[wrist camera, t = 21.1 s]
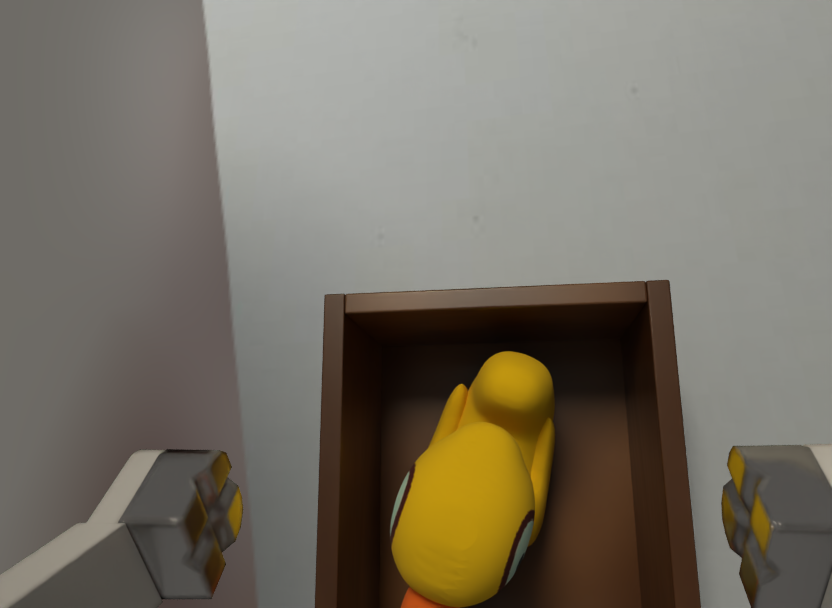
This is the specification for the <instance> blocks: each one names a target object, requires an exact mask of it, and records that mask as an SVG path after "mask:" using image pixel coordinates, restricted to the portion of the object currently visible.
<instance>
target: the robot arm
mask: <svg viewBox="0 0 832 608" xmlns="http://www.w3.org/2000/svg"><path fill="white" fill-rule="evenodd" d="M727 466H728V469H729V471H730V474H731V476H732V479H731V480H730V481H729V482H728V483H727V484H726V485H724V486H723V494H722V502H721V503H722V520H723V525H724V529H725V534H726V537H727V540H728V543H729V546H730V548H731V549H732V550H733V551H734V552H735V553H737V554H738V555H739V556H740V557H741V558H742V562H741V567H740V572H739V575H740V578H741V580H742V583H743V586H744V589H745V591H746V594H747V597H748V600H749V603H750V605H751V608H832V444H808V445H803V446H802V445H764V446H733V447H732V449H731V451H730V452H729V458H728V463H727ZM231 468H232V466H231V464H230V461H229V459H228V456H227V454H226V453H225V452H223V451H220V450H171V449H169V450H168V449H167V450H141V449H140V450H138V451H137V452H135V453H133V454H132V455H131V456H130V458H129V459H128V461H127V462H126V464H125V465H124V467H123V468H122V470H121V471H120V473H119V474H118V476H117V477H116V479H115V480H114V482H113V483H112V485H111V486H110V488H109V489H108V491H107V492H106V494H105V495H104V497H103V498H102V500H101V501H100V503H99V504H98V506H97V507H96V509H95V511H94V512H93V514H92V515H91V516H90V518H89V519H88V521H87V522H86V523H77V524H75V525H74V526H72V527H71V528H70V529H68V530H66V531H65V532H63V533H62V534H61V535H59V536H58V537H56V538H55V539H53V540H51V541H50V542H48V543H47V544H45V545H44V546H42V547H41V548H40V549H38V550H37V551H35V552H34V553H32V554H31V555H29V556H27V557H26V558H24V559H23V560H21V561H20V562H18V563H17V564H15V565H14V566H12V567H11V568H10V569H8V570H6V571H5V572H3V573H2V574H0V608H157V607H158V606H159V605H160V604H161V603H162V599H212V596H213V594H214V591H215V589H216V587H217V584H218V582H219V579H220V577H221V575H222V572H223V570H224V567H225V565H226V563H225V561H224V558H223V555H222V552H223V551H224V550H226V549H227V548H228V547H229V546H230V545H231V544H233V543H234V542H235V540H236V538H237V535H238V533H239V530H240V527H241V521H242V514H243V504H242V496H241V493H240V490H239V487H238V485H236V484H235V483H234V482H233V481H232V480H230V479H229V478H228V477H227V476H228V474H229V471H230V470H231Z"/></svg>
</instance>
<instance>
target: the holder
mask: <svg viewBox="0 0 832 608" xmlns="http://www.w3.org/2000/svg"><path fill="white" fill-rule="evenodd" d="M504 351H512V352H518V353H522V354H525V355H528V356H530V357H532V358H534V359H536V360H538V361H539V362H541V363H542V364H543V365H544V366H545V367H546V368H547V369H548V371H549V373H550V375H551V377H552V381H553V387H554V398H555V411H554V418H553V423H554V427H555V446H554V454H553V462H552V468H551V475H550V482H549V489H548V495H547V502H546V509H545V514H544V519H543V523H542V526H541V529H540V532H539V534H538V536H537V538H536V540H535V541H534V542H533V544H532V545H530V546H528V547H527V549H526V552H525V554H524V557H523V559H522V561H521V563H520V565H519V567H518V569H517V571H516V572H515V574H514V575H513V577H512V578H511V579H510V581H509V582H508V583H507V584H506V585H505V586H504V587H503V588H502V589H501V590H500V591H499V592H498V593H496V594H495V595H494V596H492V597H491V598H489V599H487V600H485V601H483V602H481V603H478V604H475V605H472V606H467V607H460V608H701V602H700V592H699V582H698V571H697V561H696V551H695V540H694V530H693V520H692V509H691V499H690V489H689V479H688V468H687V458H686V448H685V437H684V427H683V417H682V406H681V396H680V386H679V375H678V365H677V355H676V344H675V334H674V324H673V313H672V303H671V293H670V282H669V280H655V281H646V283H645V282H644V281H634V282H611V283H588V284H565V285H541V286H518V287H495V288H472V289H449V290H425V291H402V292H379V293H356V294H346V295H345V294H328V295H325V301H324V332H323V364H322V396H321V428H320V460H319V492H318V524H317V556H316V588H315V608H401V605H402V602H403V599H404V597H405V594H406V592H407V590H408V588H409V587H410V586H409V585H408V584H407V583H406V582H405V580H404V579H403V578H402V576H401V574H400V572H399V570H398V568H397V566H396V563H395V561H394V557H393V554H392V549H391V541H390V525H391V517H392V512H393V508H394V504H395V501H396V498H397V495H398V492H399V490H400V487H401V485H402V483H403V481H404V479H405V477H406V475H407V473H408V472H409V470H410V469H411V467H412V466H413V464H414V463H415V462H416V460H417V459H418V458H419V457H420V456H421V455H422V454H423V453H424V452H425V451H426V450H427V449H428V447H429V445H430V442H431V440H432V438H433V435H434V433H435V430H436V428H437V425H438V423H439V420H440V418H441V415H442V413H443V410H444V408H445V405H446V403H447V401H448V399H449V397H450V395H451V393H452V392H453V390H454V389H455V388H456V387H457V386H458V385H459V384H463V385H465V386H466V388H467V390H469V388H470V386H471V385H472V383H473V381H474V380H475V378H476V377H477V375H478V373H479V371H480V369H481V367H482V366H483V365H484V363H485V362H486V361H487V360H488V359H489V358H490V357H492V356H493V355H495V354H497V353H500V352H504Z"/></svg>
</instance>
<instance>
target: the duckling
mask: <svg viewBox="0 0 832 608" xmlns="http://www.w3.org/2000/svg"><path fill="white" fill-rule="evenodd" d="M554 411H555V398H554V387H553V381H552V377H551V375H550V373H549V371H548V369H547V368H546V367H545V366H544V365H543V364H542V363H541V362H539V361H538V360H536V359H534V358H532V357H530V356H528V355H525V354H522V353H518V352H512V351H504V352H500V353H497V354H495V355H493V356H492V357H490V358H489V359H488V360H487V361H486V362H485V363H484V365H483V366H482V367H481V369H480V371H479V373H478V375H477V377H476V378H475V380H474V381H473V383H472V385H471V386H470V388H469V390H467V388H466V386H465V385H463V384H459V385H458V386H457V387H456V388H455V389H454V390H453V392H452V393H451V395H450V397H449V399H448V401H447V403H446V405H445V408H444V410H443V413H442V415H441V418H440V420H439V423H438V425H437V428H436V430H435V433H434V435H433V438H432V440H431V442H430V445H429V447H428V449H427V450H426V451H425V452H424V453H423V454H422V455H421V456H420V457H419V458H418V459H417V460H416V462H415V463H414V464H413V466H412V467H411V469H410V470H409V472H408V473H407V475H406V477H405V479H404V481H403V483H402V485H401V487H400V490H399V492H398V495H397V498H396V501H395V504H394V508H393V512H392V517H391V525H390V541H391V549H392V554H393V557H394V561H395V563H396V566H397V568H398V570H399V572H400V574H401V576H402V578H403V579H404V580H405V582H406V583H407V584H408V585H409V586H410V587H409V588H408V590H407V592H406V594H405V597H404V599H403V602H402V605H401V608H460V607H467V606H472V605H475V604H478V603H481V602H483V601H485V600H487V599H489V598H491V597H492V596H494V595H495V594H496V593H498V592H499V591H500V590H501V589H502V588H503V587H504V586H505V585H506V584H507V583H508V582H509V581H510V579H511V578H512V577H513V575H514V574H515V572H516V571H517V569H518V567H519V565H520V563H521V561H522V559H523V557H524V554H525V552H526V549H527V547H528V546H530V545H532V544H533V542H534V541H535V540H536V538H537V536H538V534H539V532H540V529H541V526H542V523H543V519H544V514H545V509H546V502H547V495H548V489H549V482H550V475H551V468H552V462H553V454H554V446H555V427H554V423H553V418H554Z"/></svg>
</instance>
